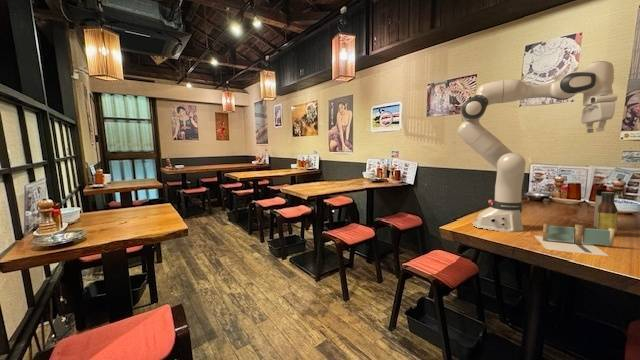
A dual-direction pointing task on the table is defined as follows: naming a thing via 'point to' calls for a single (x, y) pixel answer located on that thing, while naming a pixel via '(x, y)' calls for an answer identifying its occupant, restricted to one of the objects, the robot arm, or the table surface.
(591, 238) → the hinged panel
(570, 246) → the card
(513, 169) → the robot arm
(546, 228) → the fixed fence
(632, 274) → the table surface
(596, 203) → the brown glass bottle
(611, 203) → the sauce bottle
